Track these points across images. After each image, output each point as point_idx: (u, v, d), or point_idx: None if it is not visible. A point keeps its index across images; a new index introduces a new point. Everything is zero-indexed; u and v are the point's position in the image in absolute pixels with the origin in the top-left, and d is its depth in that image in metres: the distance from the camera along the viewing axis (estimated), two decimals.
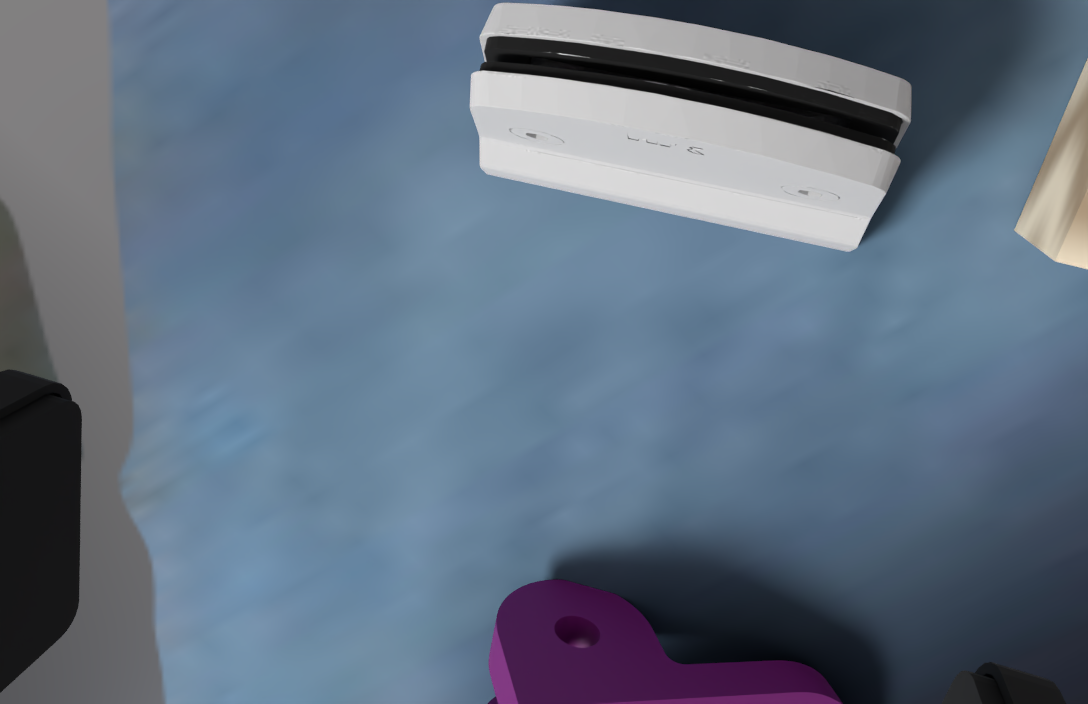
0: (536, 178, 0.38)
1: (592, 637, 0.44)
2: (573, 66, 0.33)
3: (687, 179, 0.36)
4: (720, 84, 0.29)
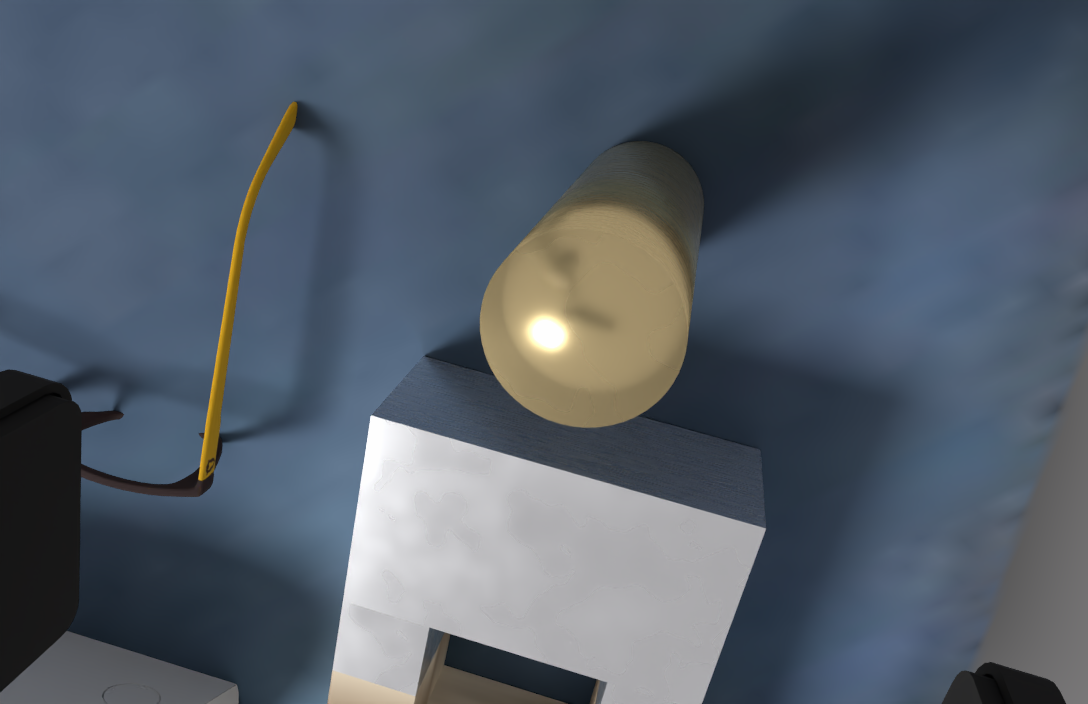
0: None
1: None
2: None
3: None
4: None
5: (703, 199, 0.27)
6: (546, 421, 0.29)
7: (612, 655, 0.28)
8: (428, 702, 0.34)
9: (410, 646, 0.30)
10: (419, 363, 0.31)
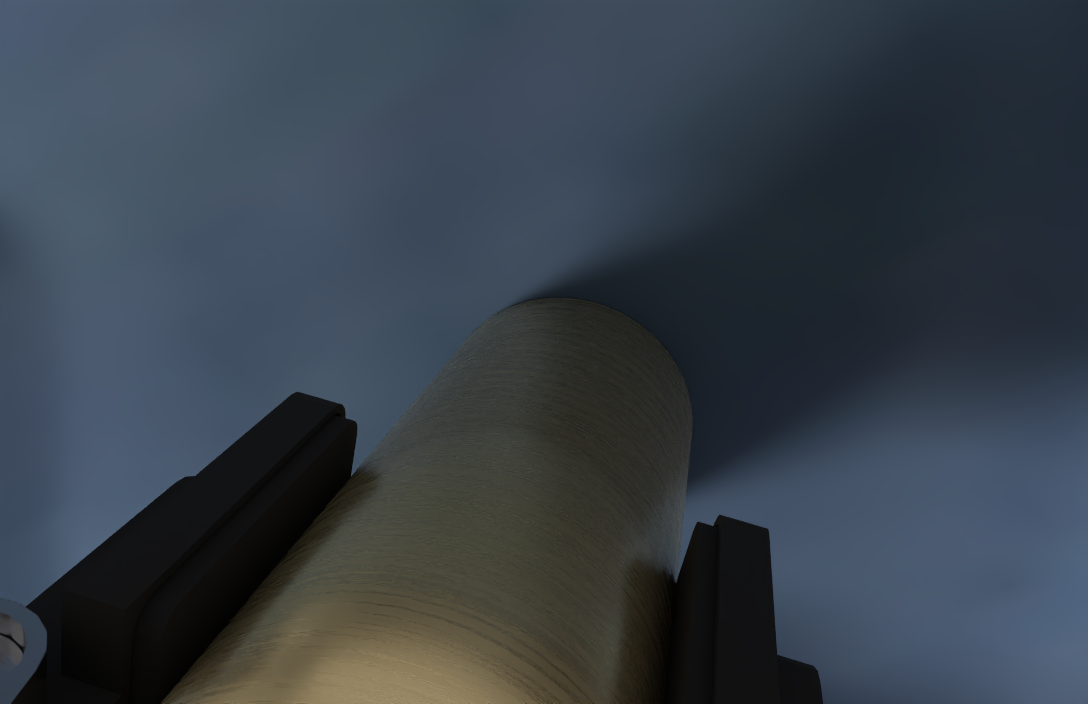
0: None
1: None
2: None
3: None
4: None
5: (691, 416, 0.14)
6: None
7: None
8: None
9: None
10: None
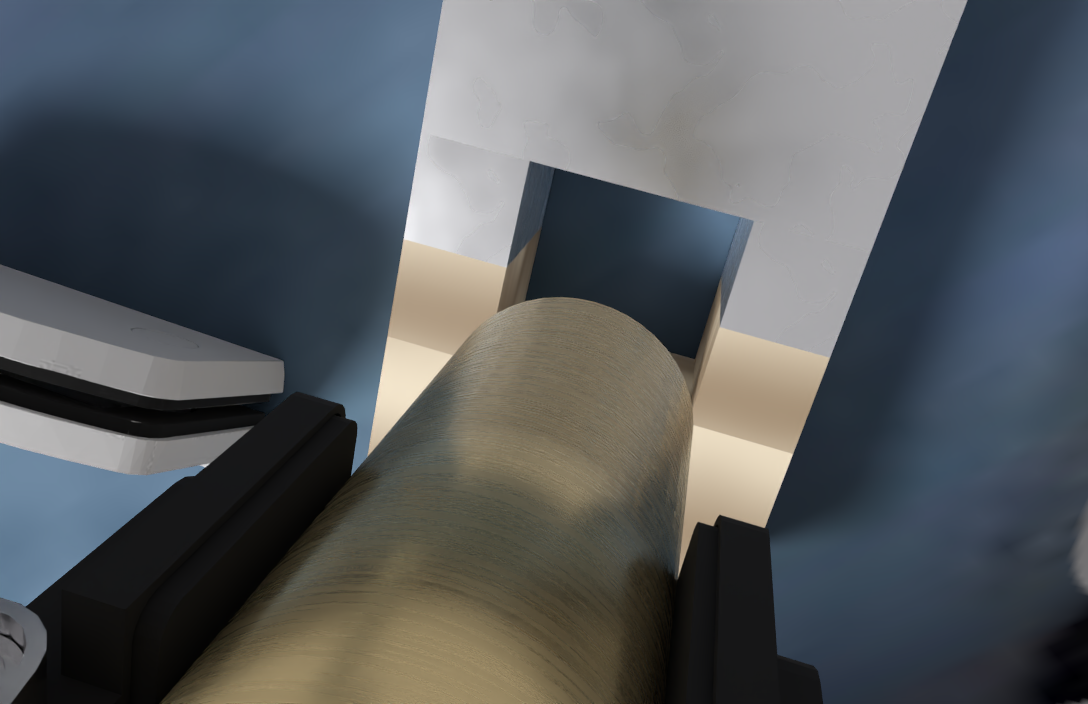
0: None
1: None
2: None
3: None
4: None
5: (692, 416, 0.13)
6: None
7: (763, 178, 0.22)
8: None
9: (503, 192, 0.24)
10: None
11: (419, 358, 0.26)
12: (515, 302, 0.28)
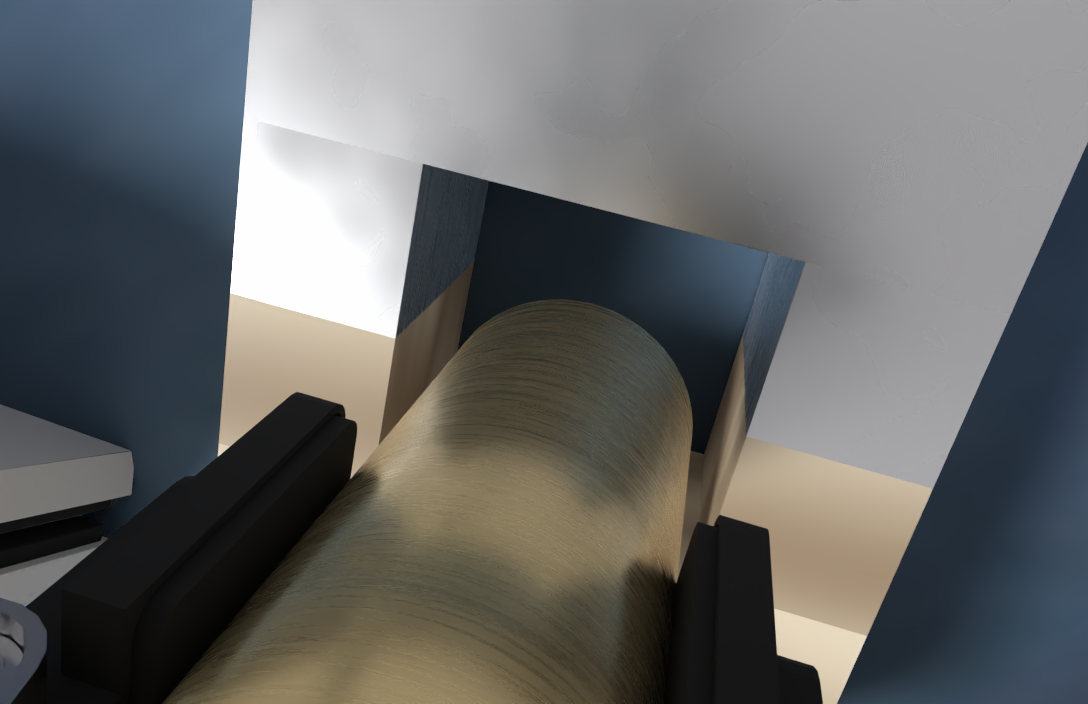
0: None
1: None
2: None
3: None
4: None
5: (691, 418, 0.13)
6: None
7: (823, 189, 0.13)
8: None
9: (383, 216, 0.14)
10: None
11: None
12: (431, 378, 0.19)
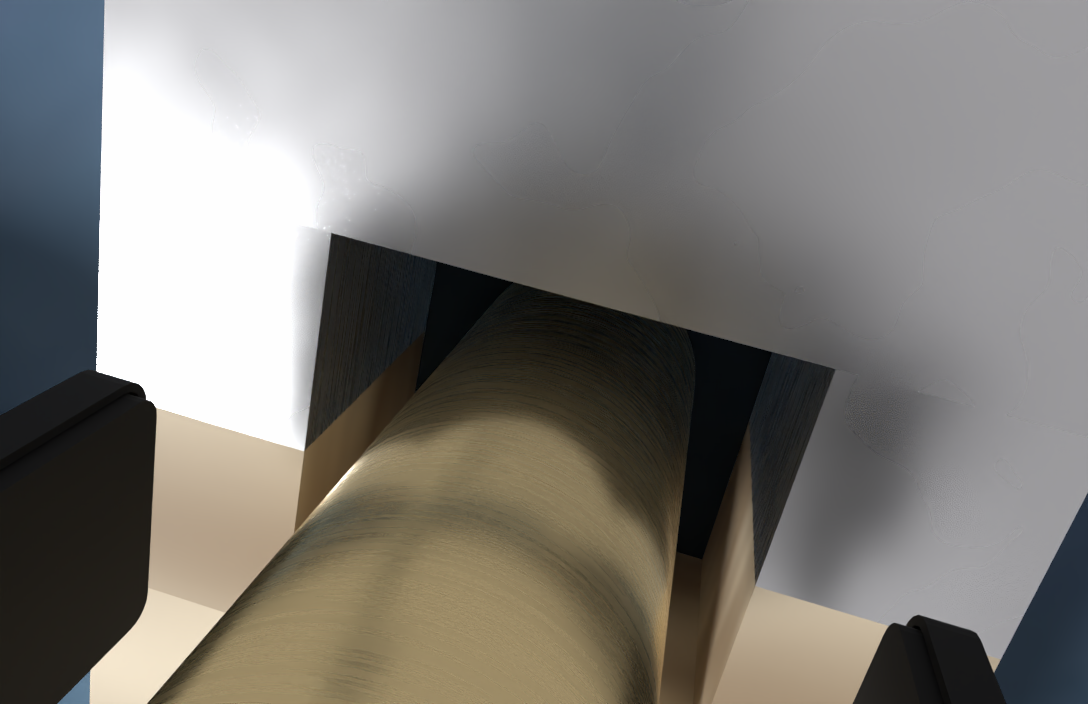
0: None
1: None
2: None
3: None
4: None
5: (694, 366, 0.15)
6: None
7: (860, 275, 0.10)
8: None
9: (283, 299, 0.11)
10: None
11: (156, 612, 0.13)
12: None
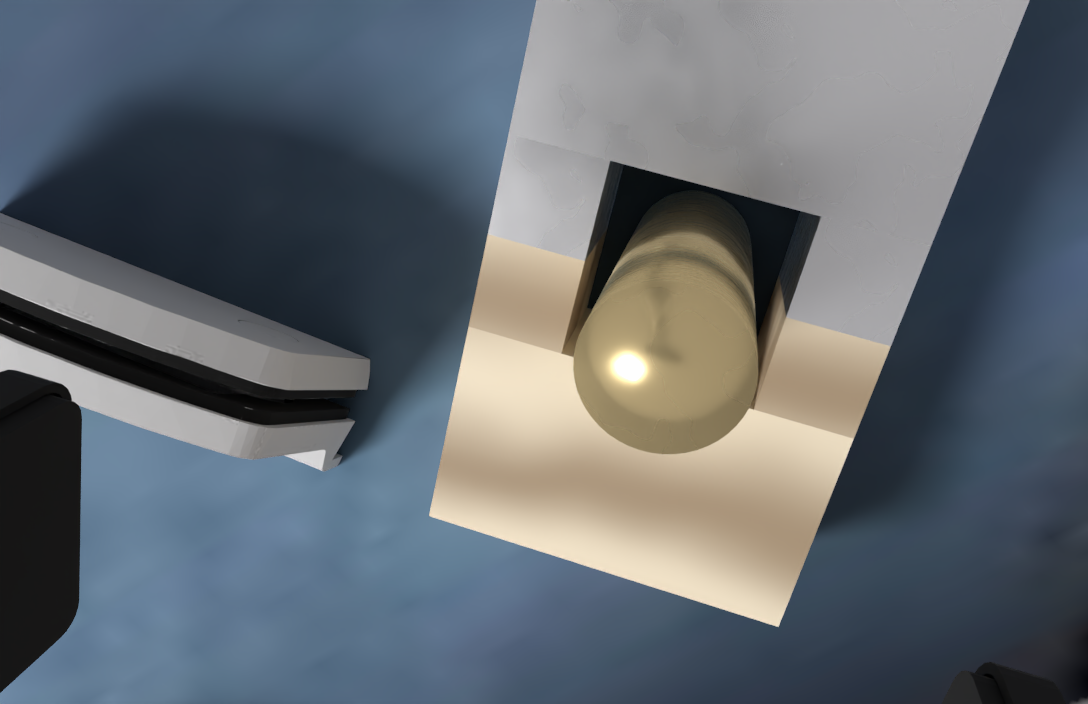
0: None
1: None
2: None
3: None
4: None
5: (751, 244, 0.30)
6: None
7: (831, 176, 0.24)
8: (578, 325, 0.30)
9: (584, 190, 0.26)
10: None
11: (497, 347, 0.28)
12: (584, 297, 0.30)
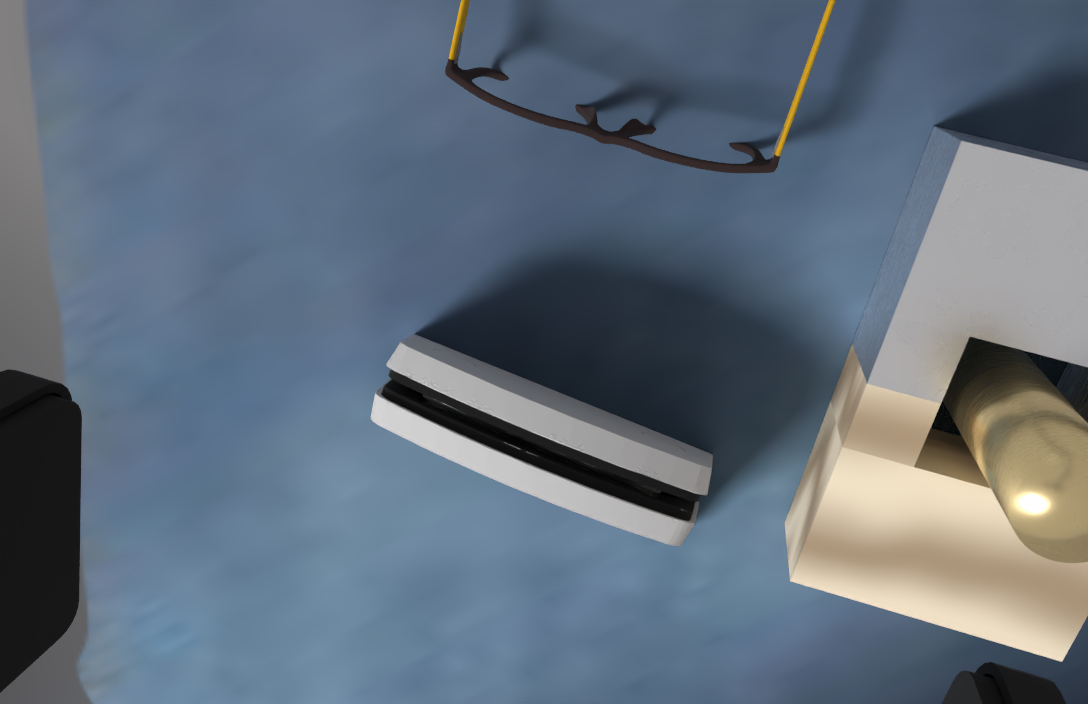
0: None
1: None
2: None
3: None
4: None
5: None
6: (1072, 162, 0.35)
7: None
8: None
9: (947, 356, 0.35)
10: (938, 128, 0.37)
11: (863, 462, 0.38)
12: None
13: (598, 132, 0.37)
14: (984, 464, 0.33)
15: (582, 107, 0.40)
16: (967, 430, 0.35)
